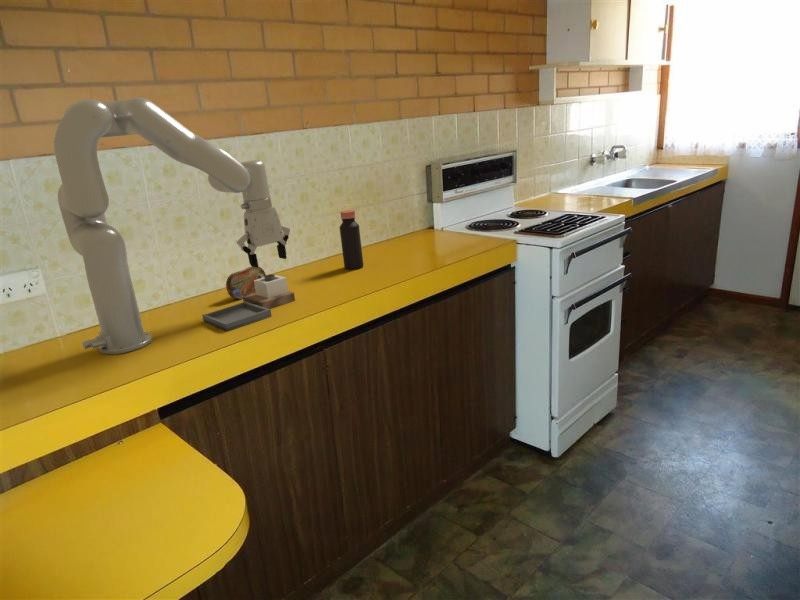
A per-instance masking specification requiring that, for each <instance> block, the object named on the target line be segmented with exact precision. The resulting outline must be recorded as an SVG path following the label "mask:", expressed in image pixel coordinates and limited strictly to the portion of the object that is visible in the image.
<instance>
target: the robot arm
mask: <svg viewBox="0 0 800 600" xmlns="http://www.w3.org/2000/svg"><path fill="white" fill-rule="evenodd" d="M133 135H138V136H140V137H141V138H143V139H144V140H146V141H147V142H149V143H150V144H151V145H152V146H153V147H156V148H157V149H159V150H160V151H161V152H163V153H164V154H165V155H166V156H168V157H169V158H171V159H172V160H174V161H176V162H179V163H180V164H183V165H187V166H190V167H193V168H195V169H198V170H200V171H202V172H203V173H205V174H206V175H207V179H208V180H207V181H208V183H209V185H210V186H211V188H213V189H214V190H216V191H218V192H221V193H222V192H223V193H233V194H240V193H241V194H242V199H243V203H242V204H240V209H241V210H244V212H243V225H244V226H243V227H244V234H243V235H242V236H241V237H240V238H239V239H237V241H236V244H237V245H238V247H239V248H240V250H241V251H242V252H244V253H245V254H247V257H248V262H249V265H250V267H256V268H257V267H259V260H258V258H257V253H255V252H256V249H257V248H258V247H263V246H267V245H271V244H275V243H277V245H276V249H277V255H278V258H279V259H281V260H282V259H283V260H286V259H287V250H286V249H287V248H286V245H287V242H288V239H289V236H290V232H291V229H290V228H289V227H286V226H283V225H282V224H281V220H280V217H279V214H278V212H277V209H276V207H275V206H273V204H272V197H271V195H270V194H271V193H270V189H269V183H268V182H269V181H268V176H267V172H266V171H267V170H266V166H265V163H264V162H263V161H262V160H259V159H258V160H257V159H255V160H247V161H242V162H239V161H238V160H237V159H235V158H234V157H233V156H231V155H230V154H229V153H228V152H226V151H225V150H223V149H222V148H221V147H219V146H217V145H215V144H213V143H211V142H209V141H208V140H206V139H204V138H203V137H201V136H200V135H198V134H195V132H193V131H191V130H190V129H189V128H188V127H186V126H185V125H183V124H182V123H180V122H179V121H178V120H176V118H175V117H173V116H172V115H170V114H169V113H168V112H166V111H165V110H163V109H162V108H161V107H159V106H158V105H157V104H155V103H154V102H153V101H151V100H150V99H147V98H145V97H142V96H141V97H140V96H136V97H131V98H129V99H122V100H114V101H101V100H98V99H94V98H86V99H82V100H79V101H77V102H74V103H72V104H70V105H69V106H67V108H66V110H64V114H63V116H62V118H61V120H60V122H59V123H58V125H57V127H56V130H55V133H54V137H53V138H54V139H53V140H54V141H53V150H54V155H55V159H56V164H57V168H58V173H59V176H60V180H61V185H60V186H59V188H58V191H57V201H58V202H57V203H58V208H59V210H60V214H61V216H62V220H63V224H64V227H65V230H66V233H67V237H68V240H69V243H70V245H71V247H72V248H73V250H74V251H75V252H76V253H77V254H78V255H80V256H81V257H82V260H83V264H84V270H85V273H86V274H85V275H86V279H87V283H88V287H89V291H90V294H91V298H92V301H93V306H94V310H95V312H96V316H97V320H98V324H99V327H100V331H99V332H97V334H98V335H97V336H96V335H95V338H92V339H88V340H84V341H82V343H81V344H82V346H83V349H84V350H86V349H90V348H92V350H93V349H96V348H98V351H99V352H100V353H101V354H104V355H119V354H124V353H129V352H133V351H136V350H138V349H141V348H143V347H145V346H147V345H149V344H150V343H151V342H152V341H153V336H152V334H151V332H146V331H144V326H143V322H142V318H141V313H140V311H139V306H138V305H139V304H138V301H137V297H136V293H135V290H134V285H133V282H132V278H131V273H130V268H129V262H128V254H127V248H126V247H127V246H126V242H125V240H124V237H123V236H122V235H121V233H120V231H119V230H117V229H116V228H115V227H113V226H111V225H110V224H108V222H107V219H106V215H105V213H106V211H108V208H109V206H110V204H109V202H110V199H109V195H108V192H107V191H108V190H107V188H106V185H105V183H104V179H103V176H102V171H101V168H100V163H99V158H98V150H97V149H98V144H99V141H100V140H101V138H112V137H122V136H123V137H125V136H133ZM245 242H246V243H247V246H246V245H245Z"/></svg>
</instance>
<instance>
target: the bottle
mask: <svg viewBox="0 0 800 600" xmlns="http://www.w3.org/2000/svg"><path fill="white" fill-rule="evenodd" d="M339 214H340V219H341V221H342V223H341V224H340V226H339V234H340V242H341V249H342V258H343V267H344V269H345V270H348V271H349V270H350V271H351V270H359V269H362V268H363V267H364V256H363V250H362V241H361V240H362V239H361V231H360V225H359V223H358V222H357V221H356V213H355V210H353V209H351V210H350V209H349V210H342V211H340V212H339Z"/></svg>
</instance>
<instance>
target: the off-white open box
mask: <svg viewBox="0 0 800 600" xmlns="http://www.w3.org/2000/svg"><path fill="white" fill-rule="evenodd" d="M274 275H275V280H272V281H269V282H266V281H265V277H264V278H260V279H257V280H254V284H255V290H256V295H259V296H263V297H266V298H271V297H274V296H278V295H281V294H284V293H287V292H289V286H288V281H287V280H288V279H287V277H286V276H282V275H281V276H280V275H277V274H274Z"/></svg>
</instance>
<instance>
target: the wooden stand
mask: <svg viewBox="0 0 800 600" xmlns="http://www.w3.org/2000/svg"><path fill="white" fill-rule="evenodd" d="M275 275H276V274H273V273H272V274H271V273H269V274H266V276H264V277H265V281H266V282H269V281H272V280H275ZM288 291H289V290H288ZM295 298H296V297H295V292H294V291H291V290H290V291H289V292H287V293H284V294H281V295H278V296H274V297H271V298H266V297H263V296H259V295H256V293H253V294H250V295H247V296H244V297H243V299H242V303H243V302H248V303H252V304H255V305H258V306H261V307H264V308H267V309H270V310H272V309H274V308H276V307H279V306H283V305H286V304H289V303H291V302H292V303H293V302H294V301H296V299H295Z"/></svg>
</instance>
